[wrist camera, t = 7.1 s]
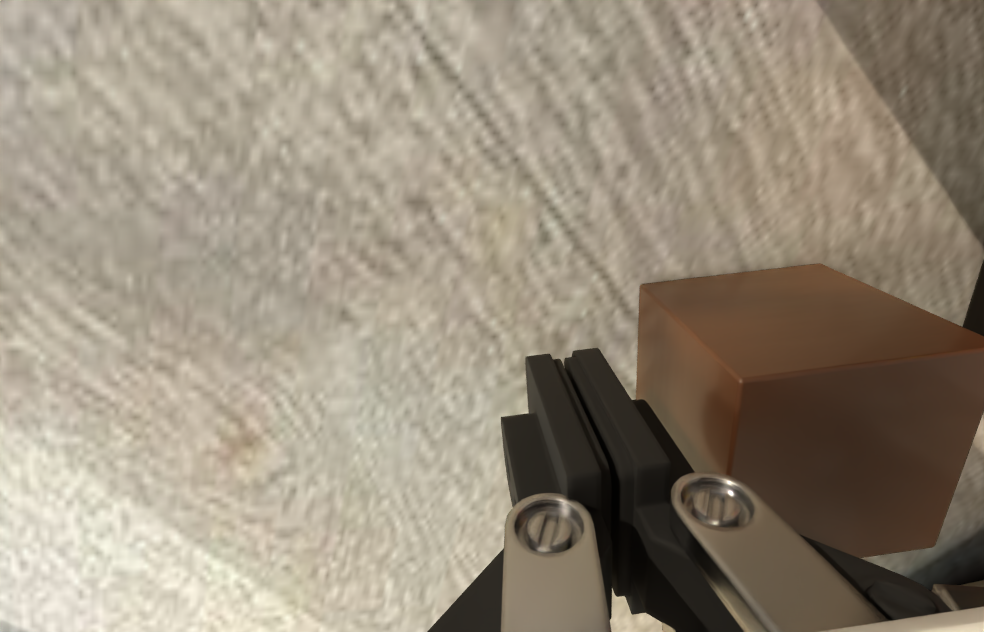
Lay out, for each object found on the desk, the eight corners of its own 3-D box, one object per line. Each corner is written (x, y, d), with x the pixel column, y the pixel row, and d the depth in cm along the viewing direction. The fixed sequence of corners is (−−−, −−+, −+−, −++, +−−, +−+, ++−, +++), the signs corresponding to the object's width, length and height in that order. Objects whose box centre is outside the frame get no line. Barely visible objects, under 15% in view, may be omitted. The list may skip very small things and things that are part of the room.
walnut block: (633, 437, 14) (714, 581, 10) (638, 283, 12) (740, 380, 8) (792, 416, 14) (936, 548, 10) (820, 261, 12) (1010, 346, 8)
